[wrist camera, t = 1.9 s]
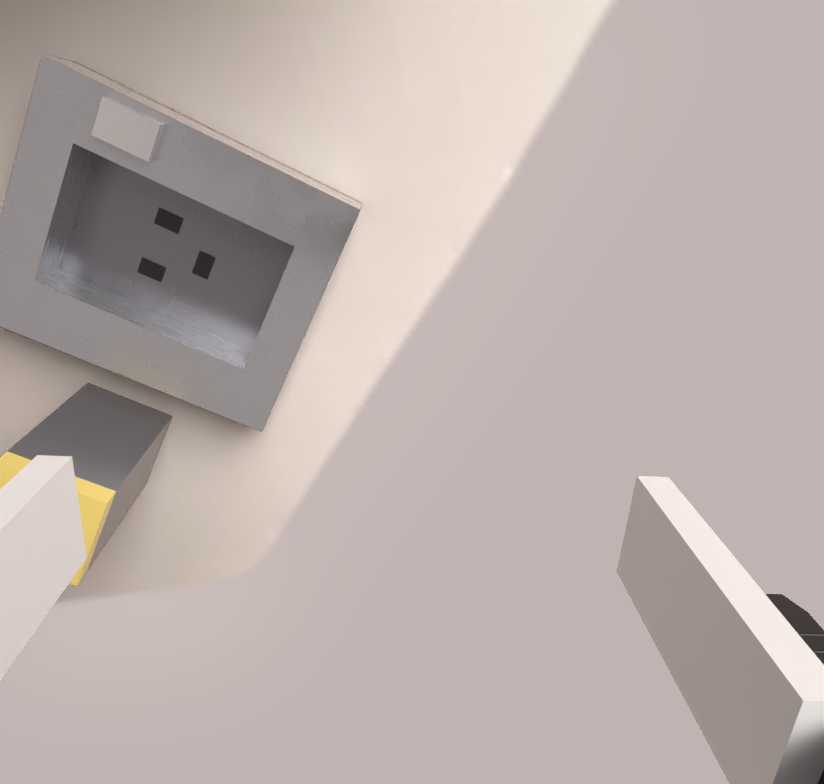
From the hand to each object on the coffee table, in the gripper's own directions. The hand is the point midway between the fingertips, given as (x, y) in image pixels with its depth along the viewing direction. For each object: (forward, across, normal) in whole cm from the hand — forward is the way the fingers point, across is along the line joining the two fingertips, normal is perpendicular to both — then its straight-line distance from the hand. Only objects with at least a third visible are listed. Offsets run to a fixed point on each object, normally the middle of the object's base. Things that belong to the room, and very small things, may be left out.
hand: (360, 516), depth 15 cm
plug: (+20, -14, -8) cm, 25 cm away
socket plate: (+20, -10, +2) cm, 22 cm away
